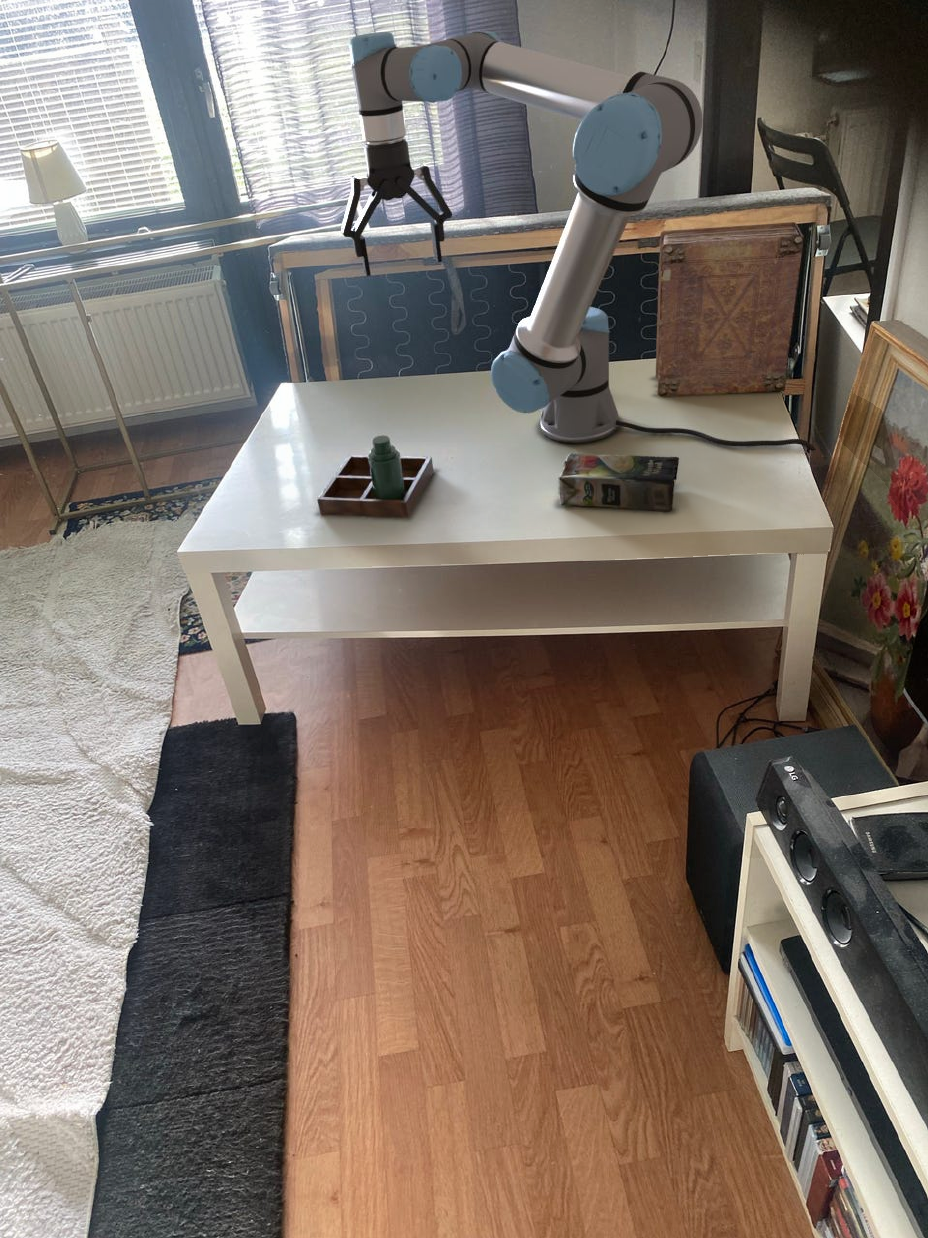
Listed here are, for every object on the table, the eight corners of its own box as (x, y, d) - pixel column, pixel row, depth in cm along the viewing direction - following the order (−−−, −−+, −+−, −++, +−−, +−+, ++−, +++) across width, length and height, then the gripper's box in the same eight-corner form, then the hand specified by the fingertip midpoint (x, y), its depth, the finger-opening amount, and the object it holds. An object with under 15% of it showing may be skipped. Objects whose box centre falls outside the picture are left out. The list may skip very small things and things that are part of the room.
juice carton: (552, 506, 156) (551, 474, 152) (563, 478, 163) (563, 447, 159) (671, 514, 150) (673, 481, 146) (677, 485, 158) (679, 453, 154)
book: (656, 396, 186) (660, 244, 168) (655, 377, 193) (659, 230, 175) (785, 391, 182) (803, 235, 164) (779, 372, 189) (796, 221, 171)
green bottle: (411, 492, 163) (401, 432, 156) (401, 509, 159) (391, 447, 152) (381, 491, 165) (370, 431, 157) (371, 507, 160) (360, 446, 153)
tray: (433, 471, 170) (431, 456, 169) (408, 517, 158) (405, 502, 156) (351, 469, 175) (348, 454, 173) (320, 514, 162) (317, 499, 160)
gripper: (449, 125, 160) (461, 249, 173) (310, 148, 156) (334, 274, 169) (460, 131, 154) (472, 259, 167) (317, 155, 150) (340, 285, 163)
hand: (403, 267), depth 168 cm, fingers open, 13 cm apart
